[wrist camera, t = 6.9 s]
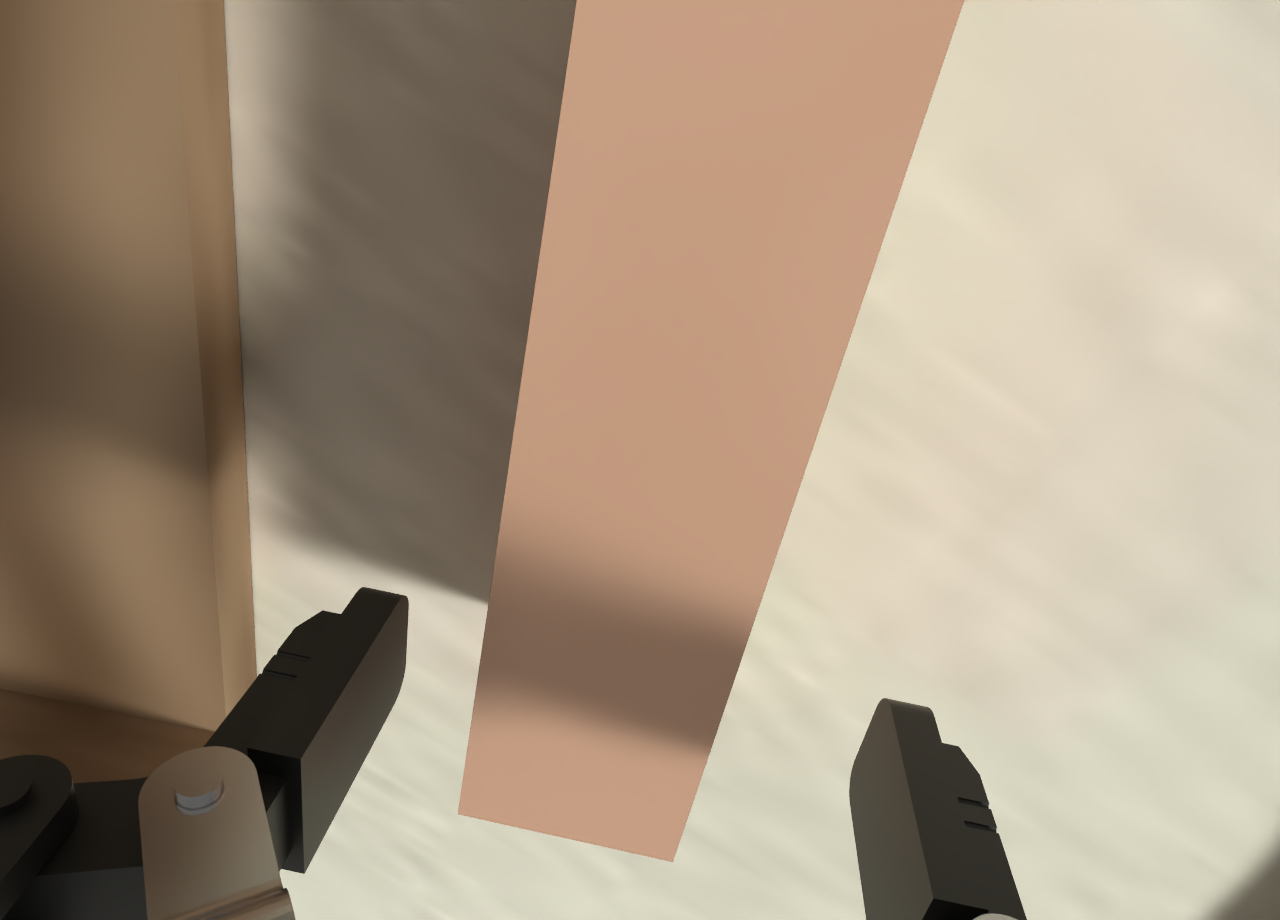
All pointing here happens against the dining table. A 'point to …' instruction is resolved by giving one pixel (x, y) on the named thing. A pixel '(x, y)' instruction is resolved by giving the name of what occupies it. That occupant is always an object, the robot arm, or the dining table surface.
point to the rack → (119, 387)
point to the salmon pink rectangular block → (678, 382)
